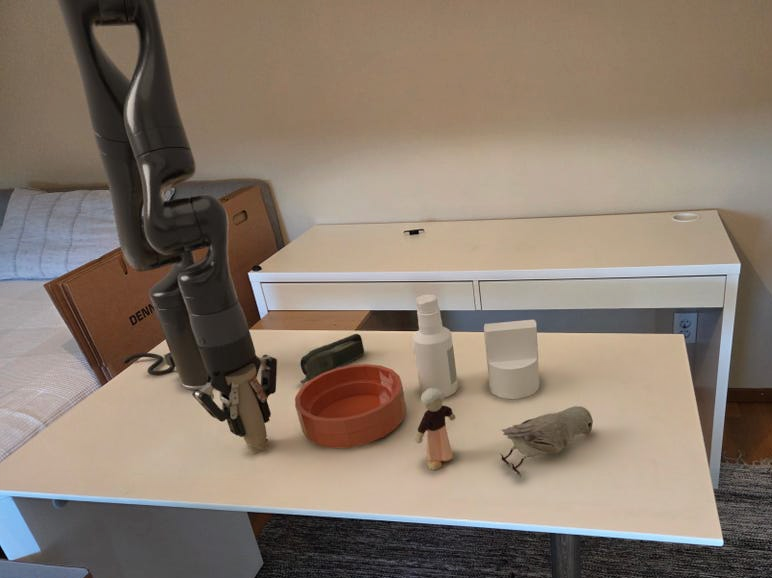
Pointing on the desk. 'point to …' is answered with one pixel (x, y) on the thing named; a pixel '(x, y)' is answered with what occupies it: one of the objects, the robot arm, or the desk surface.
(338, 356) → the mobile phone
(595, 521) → the desk surface
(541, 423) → the decorative bird
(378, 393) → the bowl
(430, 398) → the grandmother figurine
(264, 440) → the handle
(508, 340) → the base with upright slab
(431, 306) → the spray bottle
